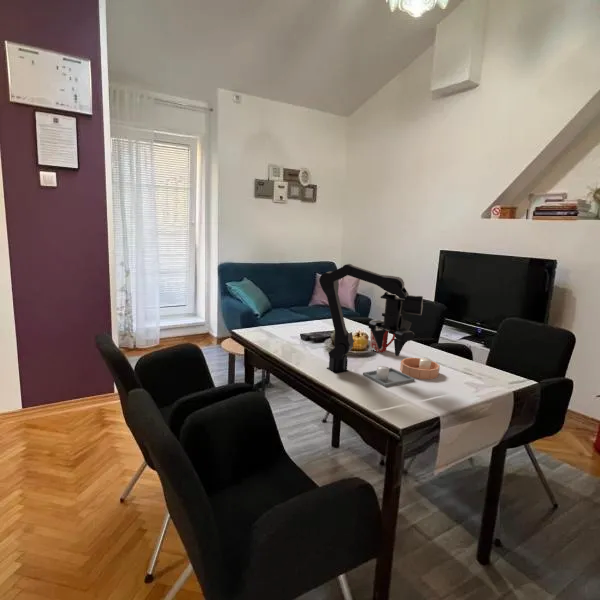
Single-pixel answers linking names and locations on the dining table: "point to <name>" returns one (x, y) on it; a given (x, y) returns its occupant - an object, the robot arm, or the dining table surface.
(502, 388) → the dining table surface
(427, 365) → the pebble sand
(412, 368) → the bowl
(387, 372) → the pebble grey
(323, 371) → the dining table surface
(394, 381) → the parts tray
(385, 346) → the mug
